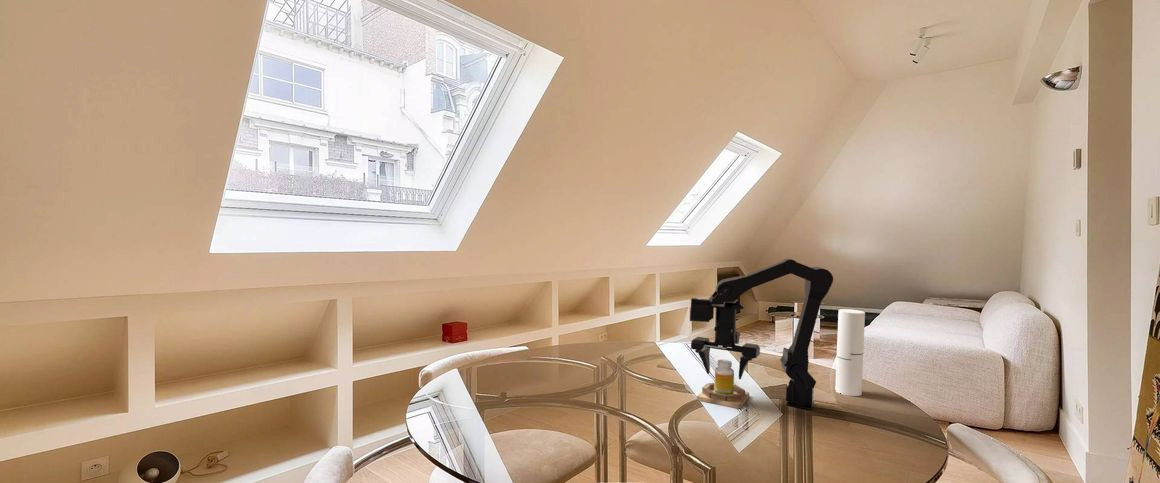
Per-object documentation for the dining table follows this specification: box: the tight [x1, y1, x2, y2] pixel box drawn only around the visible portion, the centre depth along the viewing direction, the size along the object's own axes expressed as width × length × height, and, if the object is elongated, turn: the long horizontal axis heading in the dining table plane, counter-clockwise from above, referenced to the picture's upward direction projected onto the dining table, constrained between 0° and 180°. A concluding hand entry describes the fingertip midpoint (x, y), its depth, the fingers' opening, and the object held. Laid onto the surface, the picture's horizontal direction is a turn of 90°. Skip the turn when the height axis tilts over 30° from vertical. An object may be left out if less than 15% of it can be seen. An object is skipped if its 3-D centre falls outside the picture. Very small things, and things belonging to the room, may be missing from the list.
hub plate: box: [696, 382, 750, 410], centre depth 150 cm, size 12×12×3 cm
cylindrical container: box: [834, 308, 866, 397], centre depth 157 cm, size 7×7×25 cm
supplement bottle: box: [714, 359, 735, 395], centre depth 150 cm, size 5×5×10 cm
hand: (723, 376), depth 150 cm, fingers open, 9 cm apart
